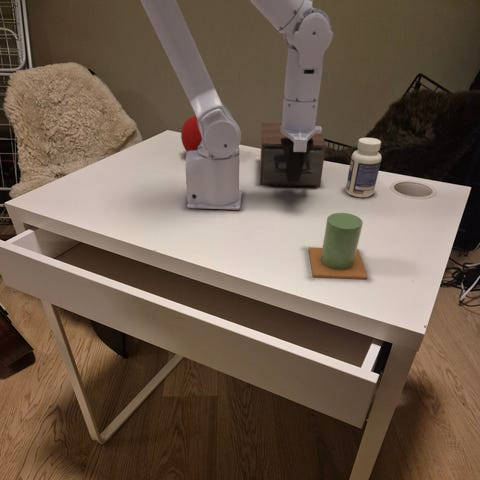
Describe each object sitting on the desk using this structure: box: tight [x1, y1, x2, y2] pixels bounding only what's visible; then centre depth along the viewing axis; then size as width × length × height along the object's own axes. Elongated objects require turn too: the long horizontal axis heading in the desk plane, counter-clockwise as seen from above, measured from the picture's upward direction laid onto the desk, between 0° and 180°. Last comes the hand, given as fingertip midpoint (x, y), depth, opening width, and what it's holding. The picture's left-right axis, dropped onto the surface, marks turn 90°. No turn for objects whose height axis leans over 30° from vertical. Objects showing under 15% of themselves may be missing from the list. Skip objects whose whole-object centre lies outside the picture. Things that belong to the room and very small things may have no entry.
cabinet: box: [259, 122, 327, 188], centre depth 86 cm, size 14×12×8 cm
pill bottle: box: [345, 137, 382, 198], centre depth 78 cm, size 5×5×10 cm
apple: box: [180, 115, 202, 153], centre depth 93 cm, size 9×9×10 cm
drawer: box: [263, 147, 323, 184], centre depth 83 cm, size 17×11×6 cm, turn 177°
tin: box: [321, 212, 364, 270], centre depth 59 cm, size 5×5×6 cm
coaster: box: [308, 246, 368, 280], centre depth 61 cm, size 8×8×1 cm
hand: (293, 180), depth 77 cm, fingers closed, pressing on drawer
